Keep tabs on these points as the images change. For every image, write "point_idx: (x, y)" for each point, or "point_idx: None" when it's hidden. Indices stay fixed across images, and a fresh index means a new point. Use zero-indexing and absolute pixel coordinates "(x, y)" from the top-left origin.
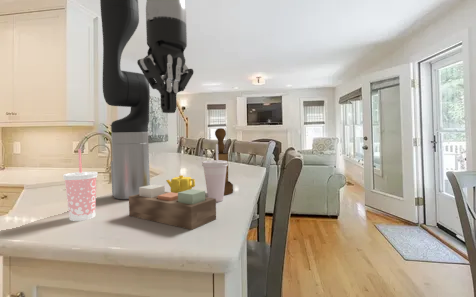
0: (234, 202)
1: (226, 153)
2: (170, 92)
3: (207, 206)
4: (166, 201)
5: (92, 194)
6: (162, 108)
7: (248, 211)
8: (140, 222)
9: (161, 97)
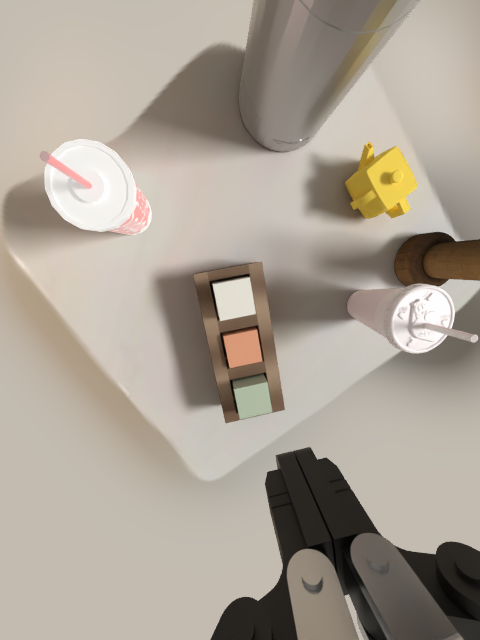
0: (366, 343)
1: None
2: (349, 587)
3: None
4: (220, 367)
5: (129, 228)
6: (267, 482)
7: (334, 398)
8: (191, 323)
9: (278, 540)
